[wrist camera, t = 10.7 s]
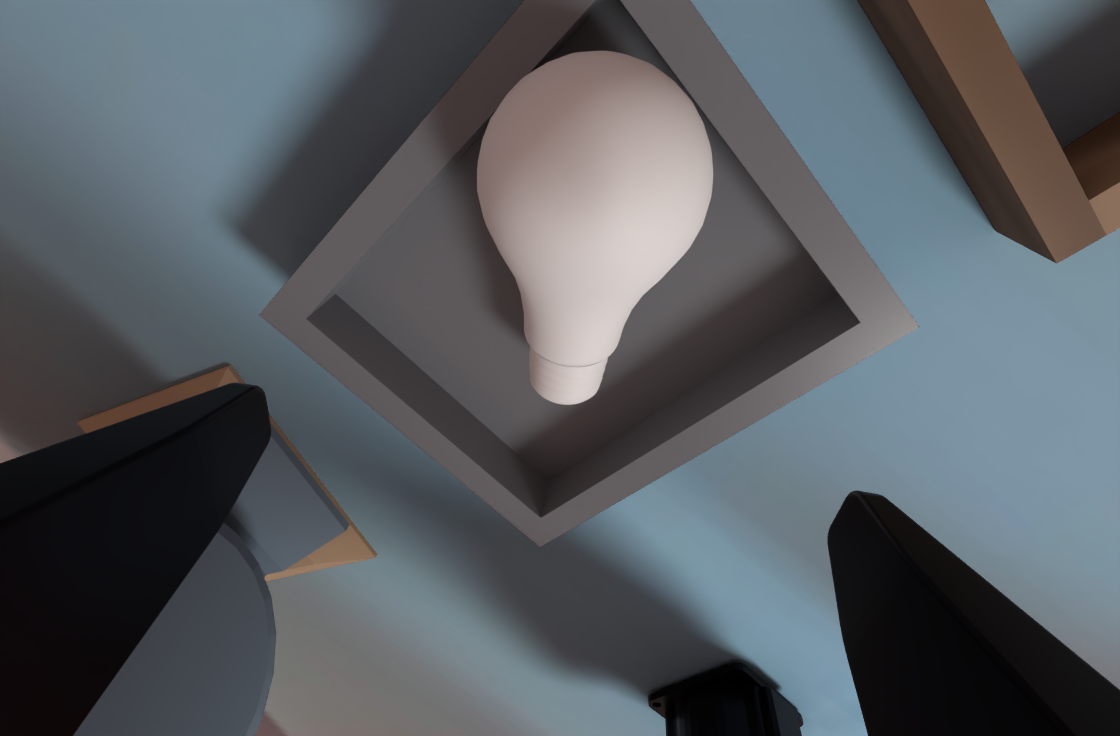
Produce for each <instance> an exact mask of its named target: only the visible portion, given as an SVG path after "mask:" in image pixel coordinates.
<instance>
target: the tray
mask: <svg viewBox="0 0 1120 736" xmlns="http://www.w3.org/2000/svg"><path fill="white" fill-rule="evenodd" d="M588 51H612V52H618V53H622V54H626V55H629V56H632V57H635V58H637V59H640V60H643V61H645V62H648V63H650V64H652V65H654V66H655V67H656V68H658V69H659V70H660V71H662V72H663V73H664V74H666V75H667V76H668V77H670V78H671V79H672V80H673V81H675V82H676V84H677V85H678V86H679V87H680V88H681V89H682V90H683V91H684V93H685V94H686V95H687V96H688V97H689V98H690V100H691V101H692V102H693V104H694V106H695V108H696V110H697V112H698V114H699V115H700V117H701V119H702V121H703V123H704V126H705V130H706V133H707V136H708V139H709V142H710V146H711V151H712V162H713V185H712V196H711V200H710V203H709V206H708V210H707V213H706V216H705V219H704V223H703V226H702V227H701V229H700V231H699V233H698V234H697V236H696V238H695V240H694V241H693V243H692V245H691V247H690V248H689V249H688V250H687V252H686V253H685V254H684V255H683V256H682V257H681V258H680V260H679V261H678V262H677V263H676V264H675V265H674V266H673V267H672V268H671V269H670V270H669V271H668V272H667V273H666V274H665V275H664V277H663V278H662V279H661V280H660V281H658V282H657V283H656V284H655V285H654V286H653V287H652V288H651V289H649V290H648V291H647V292H646V293H645V294H644V295H643V296H642V297H641V298H640V300H639V301H638V302H637V304H636V305H635V306H634V308H633V309H632V311H631V313H630V315H629V317H628V319H627V321H626V323H625V325H624V327H623V330H622V334H621V337H620V340H619V343H618V345H617V347H616V349H615V350H614V352H613V353H612V354H611V355H610V356H609V357H608V361H607V364H606V366H605V371H604V374H603V377H602V381H601V383H600V386H599V389H598V391H597V392H596V394H595V395H594V396H592V397H591V398H590V399H588V400H586V401H584V402H581V403H578V404H572V405H563V404H557V403H554V402H551V401H549V400H547V399H545V398H543V397H542V396H541V395H539V394H538V393H537V392H536V391H535V390H534V388H533V386H532V385H531V382H530V370H529V352H530V345H529V344H528V342H527V340H526V337H525V333H524V311H523V305H522V299H521V293H520V290H519V288H518V285H517V282H516V279H515V277H514V275H513V274H512V272H511V270H510V269H509V267H508V266H507V264H506V262H505V261H504V259H503V257H502V256H501V254H500V252H499V250H498V248H497V246H496V244H495V242H494V240H493V238H492V236H491V234H490V232H489V230H488V228H487V226H486V224H485V221H484V218H483V214H482V210H481V206H480V201H479V197H478V193H477V166H478V158H479V153H480V148H481V144H482V139H483V137H484V134H485V131H486V129H487V126H488V124H489V121H490V119H491V117H492V116H493V114H494V113H495V111H496V110H497V108H498V107H499V105H500V104H501V102H502V101H503V99H504V98H505V96H506V95H507V94H508V93H509V92H510V90H511V89H512V88H513V87H514V86H515V85H516V84H517V83H518V82H519V81H520V80H521V79H522V78H523V77H525V76H526V75H528V74H529V73H531V72H533V71H534V70H536V69H537V68H539V67H541V66H542V65H544V64H545V63H547V62H550V61H552V60H555V59H558V58H560V57H563V56H565V55H568V54H571V53H576V52H588ZM259 315H260V316H261V317H262V318H263V319H264V320H266V321H267V322H268V323H269V324H270V325H272V326H273V327H274V328H275V329H276V330H278V331H279V332H280V333H281V334H283V335H284V336H285V337H286V338H287V339H289V340H290V341H291V342H292V343H293V344H295V345H296V346H297V347H298V348H299V349H301V350H302V351H303V352H304V353H306V354H307V355H308V356H309V357H310V358H312V359H313V360H314V361H315V362H316V363H318V364H319V365H320V366H321V367H323V368H324V369H325V370H326V371H327V372H329V373H330V374H331V375H332V376H333V377H335V378H336V379H337V380H338V381H339V382H341V383H342V384H343V385H344V386H346V387H347V388H348V389H349V390H350V391H352V392H353V393H354V394H355V395H356V396H358V397H359V398H360V399H361V400H362V401H364V402H365V403H366V404H367V405H369V406H370V407H371V408H372V409H373V410H375V411H376V412H377V413H378V414H379V415H381V416H382V417H383V418H384V419H385V420H387V421H388V422H389V423H390V424H392V425H393V426H394V427H395V428H396V429H398V430H399V431H400V432H401V433H402V434H404V435H405V436H406V437H407V438H408V439H410V440H411V441H412V442H413V443H415V444H416V445H417V446H418V447H419V448H421V449H422V450H423V451H424V452H425V453H427V454H428V455H429V456H430V457H431V458H433V459H434V460H435V461H436V462H438V463H439V464H440V465H441V466H442V467H444V468H445V469H446V470H447V471H448V472H450V473H451V474H452V475H453V476H455V477H456V478H457V479H458V480H459V481H461V482H462V483H463V484H464V485H465V486H467V487H468V488H469V489H470V490H471V491H473V492H474V493H475V494H476V495H478V496H479V497H480V498H481V499H482V500H484V501H485V502H486V503H487V504H488V505H490V506H491V507H492V508H493V509H494V510H496V511H497V512H498V513H499V514H501V515H502V516H503V517H504V518H505V519H507V520H508V521H509V522H510V523H511V524H513V525H514V526H515V527H516V528H517V529H519V530H520V531H521V532H522V533H524V534H525V535H526V536H527V537H528V538H530V539H531V540H532V541H533V542H534V543H536V544H537V545H538V546H539V547H541V546H543V545H545V544H547V543H548V542H550V541H552V540H553V539H555V538H557V537H559V536H560V535H562V534H564V533H566V532H567V531H569V530H571V529H572V528H574V527H576V526H578V525H579V524H581V523H583V522H584V521H586V520H588V519H590V518H591V517H593V516H595V515H597V514H598V513H600V512H602V511H603V510H605V509H607V508H609V507H610V506H612V505H614V504H616V503H617V502H619V501H621V500H622V499H624V498H626V497H628V496H629V495H631V494H633V493H634V492H636V491H638V490H640V489H641V488H643V487H645V486H647V485H648V484H650V483H652V482H653V481H655V480H657V479H659V478H660V477H662V476H664V475H665V474H667V473H669V472H671V471H672V470H674V469H676V468H678V467H679V466H681V465H683V464H684V463H686V462H688V461H690V460H691V459H693V458H695V457H697V456H698V455H700V454H702V453H703V452H705V451H707V450H709V449H710V448H712V447H714V446H715V445H717V444H719V443H721V442H722V441H724V440H726V439H728V438H729V437H731V436H733V435H734V434H736V433H738V432H740V431H741V430H743V429H745V428H747V427H748V426H750V425H752V424H753V423H755V422H757V421H759V420H760V419H762V418H764V417H765V416H767V415H769V414H771V413H772V412H774V411H776V410H778V409H779V408H781V407H783V406H784V405H786V404H788V403H790V402H791V401H793V400H795V399H797V398H798V397H800V396H802V395H803V394H805V393H807V392H809V391H810V390H812V389H814V388H815V387H817V386H819V385H821V384H822V383H824V382H826V381H828V380H829V379H831V378H833V377H834V376H836V375H838V374H840V373H841V372H843V371H845V370H846V369H848V368H850V367H852V366H853V365H855V364H857V363H859V362H860V361H862V360H864V359H865V358H867V357H869V356H871V355H872V354H874V353H876V352H878V351H879V350H881V349H883V348H884V347H886V346H888V345H890V344H891V343H893V342H895V341H896V340H898V339H900V338H902V337H903V336H905V335H907V334H909V333H910V332H912V331H914V330H915V329H917V328H919V325H918V324H917V322H916V321H915V320H914V318H913V317H912V315H911V314H910V312H909V311H908V310H907V308H906V307H905V305H904V304H903V302H902V301H901V300H900V298H899V297H898V295H897V294H896V292H895V291H894V290H893V288H892V287H891V285H890V284H889V283H888V281H887V280H886V278H885V277H884V275H883V274H882V273H881V271H880V270H879V268H878V267H877V265H876V264H875V263H874V261H873V260H872V258H871V257H870V255H869V254H868V253H867V251H866V250H865V248H864V247H863V246H862V244H861V243H860V241H859V240H858V238H857V237H856V236H855V234H854V233H853V231H852V230H851V228H850V227H849V226H848V224H847V223H846V221H845V220H844V218H843V217H842V216H841V214H840V213H839V211H838V210H837V209H836V207H835V206H834V204H833V203H832V201H831V200H830V199H829V197H828V196H827V194H826V193H825V191H824V190H823V189H822V187H821V186H820V184H819V183H818V181H817V180H816V179H815V177H814V176H813V174H812V173H811V172H810V170H809V169H808V167H807V166H806V164H805V163H804V162H803V160H802V159H801V157H800V156H799V154H798V153H797V152H796V150H795V149H794V147H793V146H792V144H791V143H790V142H789V140H788V139H787V137H786V136H785V135H784V133H783V132H782V130H781V129H780V127H779V126H778V125H777V123H776V122H775V120H774V119H773V117H772V116H771V115H770V113H769V112H768V110H767V109H766V107H765V106H764V105H763V103H762V102H761V100H760V99H759V98H758V96H757V95H756V93H755V92H754V90H753V89H752V88H751V86H750V85H749V83H748V82H747V80H746V79H745V78H744V76H743V75H742V73H741V72H740V70H739V69H738V68H737V66H736V65H735V63H734V62H733V61H732V59H731V58H730V56H729V55H728V53H727V52H726V51H725V49H724V48H723V46H722V45H721V43H720V42H719V41H718V39H717V38H716V36H715V35H714V33H713V32H712V31H711V29H710V28H709V26H708V25H707V23H706V22H705V21H704V19H703V18H702V16H701V15H700V14H699V12H698V11H697V9H696V8H695V6H694V5H693V4H692V2H691V1H690V0H524V1H523V2H522V3H521V5H520V6H519V7H518V8H517V9H516V11H515V12H514V13H513V14H512V15H511V17H510V18H509V19H508V20H507V21H506V22H505V24H504V25H503V26H502V27H501V28H500V30H499V31H498V32H497V33H496V34H495V35H494V37H493V38H492V39H491V40H490V41H489V43H488V44H487V45H486V46H485V47H484V49H483V50H482V51H481V52H480V53H479V54H478V56H477V57H476V58H475V59H474V60H473V62H472V63H471V64H470V65H469V66H468V67H467V69H466V70H465V71H464V72H463V73H462V75H461V76H460V77H459V78H458V79H457V81H456V82H455V83H454V84H453V85H452V86H451V88H450V89H449V90H448V91H447V92H446V94H445V95H444V96H443V97H442V98H441V100H440V101H439V102H438V103H437V104H436V105H435V107H434V108H433V109H432V110H431V111H430V113H429V114H428V115H427V116H426V117H425V118H424V120H423V121H422V122H421V123H420V124H419V126H418V127H417V128H416V129H415V130H414V132H413V133H412V134H411V135H410V136H409V137H408V139H407V140H406V141H405V142H404V143H403V145H402V146H401V147H400V148H399V149H398V151H397V152H396V153H395V154H394V155H393V156H392V158H391V159H390V160H389V161H388V162H387V164H386V165H385V166H384V167H383V168H382V169H381V171H380V172H379V173H378V174H377V175H376V177H375V178H374V179H373V180H372V181H371V183H370V184H369V185H368V186H367V187H366V188H365V190H364V191H363V192H362V193H361V194H360V196H359V197H358V198H357V199H356V200H355V202H354V203H353V204H352V205H351V206H350V207H349V209H348V210H347V211H346V212H345V213H344V215H343V216H342V217H341V218H340V219H339V220H338V222H337V223H336V224H335V225H334V226H333V228H332V229H331V230H330V231H329V232H328V234H327V235H326V236H325V237H324V238H323V239H322V241H321V242H320V243H319V244H318V245H317V247H316V248H315V249H314V250H313V251H312V253H311V254H310V255H309V256H308V257H307V258H306V260H305V261H304V262H303V263H302V264H301V266H300V267H299V268H298V269H297V270H296V271H295V273H294V274H293V275H292V276H291V277H290V279H289V280H288V281H287V282H286V283H285V285H284V286H283V287H282V288H281V289H280V290H279V292H278V293H277V294H276V295H275V296H274V298H273V299H272V300H271V301H270V302H269V304H268V305H267V306H266V307H265V308H264V309H263V311H262V312H261V313H260V314H259Z"/></svg>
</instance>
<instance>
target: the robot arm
mask: <svg viewBox="0 0 1120 736" xmlns="http://www.w3.org/2000/svg"><path fill="white" fill-rule="evenodd" d="M270 438H271V423H270V418H269V412H268V407H267V401H266V396H265V393H264V391H263V389H262V388H260V387H258V386H255V385H249V384H243V383H236V382H235V383H229V384H226V385H224V386H221V387H218V388H215V389H212V390H209V391H206V392H204V393H201V394H198V395H195V396H192V397H189V398H186V399H183V400H181V401H178V402H175V403H172V404H169V405H166V406H163V407H161V408H158V409H155V410H152V411H149V412H146V413H143V414H140V415H138V416H135V417H132V418H129V419H126V420H123V421H120V422H117V423H115V424H112V425H109V426H106V427H103V428H100V429H97V430H95V431H92V432H89V433H86V434H83V435H80V436H77V437H74V438H72V439H69V440H66V441H63V442H60V443H57V444H54V445H52V446H49V447H46V448H43V449H40V450H37V451H34V452H31V453H29V454H26V455H23V456H20V457H17V458H14V459H11V460H9V461H6V462H3V463H0V736H73V735H74V734H75V733H76V731H77V730H78V728H79V727H80V726H81V724H82V723H83V721H84V720H85V719H86V717H87V716H88V714H89V713H90V712H91V710H92V709H93V707H94V706H95V704H96V703H97V702H98V700H99V699H100V697H101V696H102V695H103V693H104V692H105V690H106V689H107V688H108V686H109V685H110V683H111V682H112V681H113V679H114V678H115V676H116V675H117V674H118V672H119V671H120V669H121V668H122V666H123V665H124V664H125V662H126V661H127V659H128V658H129V657H130V655H131V654H132V652H133V651H134V650H135V648H136V647H137V645H138V644H139V643H140V641H141V640H142V638H143V637H144V636H145V634H146V633H147V631H148V630H149V628H150V627H151V626H152V624H153V623H154V621H155V620H156V619H157V617H158V616H159V614H160V613H161V612H162V610H163V609H164V607H165V606H166V605H167V603H168V602H169V600H170V599H171V598H172V596H173V595H174V593H175V592H176V591H177V589H178V588H179V586H180V585H181V583H182V582H183V581H184V579H185V578H186V576H187V575H188V574H189V572H190V571H191V569H192V568H193V567H194V565H195V564H196V562H197V561H198V560H199V558H200V557H201V555H202V554H203V553H204V551H205V550H206V548H207V547H208V545H209V544H210V543H211V541H212V540H213V538H214V537H215V535H216V534H217V532H218V531H219V529H220V528H221V526H222V525H223V523H224V521H225V520H226V518H227V517H228V515H229V513H230V511H231V510H232V508H233V506H234V504H235V503H236V501H237V499H238V497H239V495H240V494H241V492H242V490H243V488H244V487H245V485H246V483H247V481H248V479H249V478H250V476H251V474H252V472H253V471H254V469H255V467H256V465H257V463H258V462H259V460H260V458H261V456H262V455H263V453H264V451H265V449H266V447H267V446H268V444H269V441H270ZM828 550H829V556H830V563H831V569H832V576H833V582H834V588H835V595H836V601H837V608H838V614H839V621H840V627H841V632H842V637H843V642H844V646H845V651H846V655H847V659H848V662H849V666H850V670H851V674H852V677H853V681H854V685H855V688H856V692H857V696H858V700H859V703H860V707H861V711H862V714H863V718H864V722H865V726H866V729H867V733H868V736H1120V690H1119V689H1118V688H1117V687H1116V686H1114V685H1113V684H1112V683H1111V682H1110V681H1108V680H1107V679H1106V678H1105V677H1103V676H1102V675H1101V674H1100V673H1099V672H1097V671H1096V670H1095V669H1094V668H1092V667H1091V666H1090V665H1089V664H1088V663H1086V662H1085V661H1084V660H1083V659H1082V658H1080V657H1079V656H1078V655H1077V654H1075V653H1074V652H1073V651H1072V650H1071V649H1069V648H1068V647H1067V646H1066V645H1064V644H1063V643H1062V642H1061V641H1060V640H1058V639H1057V638H1056V637H1055V636H1053V635H1052V634H1051V633H1050V632H1049V631H1047V630H1046V629H1045V628H1044V627H1043V626H1041V625H1040V624H1039V623H1038V622H1036V621H1035V620H1034V619H1033V618H1032V617H1030V616H1029V615H1028V614H1027V613H1025V612H1024V611H1023V610H1022V609H1021V608H1019V607H1018V606H1017V605H1016V604H1014V603H1013V602H1012V601H1011V600H1010V599H1008V598H1007V597H1006V596H1005V595H1004V594H1002V593H1001V592H1000V591H999V590H997V589H996V588H995V587H994V586H993V585H991V584H990V583H989V582H988V581H986V580H985V579H984V578H983V577H982V576H980V575H979V574H978V573H977V572H975V571H974V570H973V569H972V568H971V567H969V566H968V565H967V564H966V563H965V562H963V561H962V560H961V559H960V558H958V557H957V556H956V555H955V554H954V553H952V552H951V551H950V550H949V549H947V548H946V547H945V546H944V545H943V544H941V543H940V542H939V541H938V540H936V539H935V538H934V537H933V536H932V535H930V534H929V533H928V532H927V531H926V530H924V529H923V528H922V527H921V526H919V525H918V524H917V523H916V522H915V521H913V520H912V519H911V518H910V517H908V516H907V515H906V514H905V513H904V512H902V511H901V510H900V509H899V508H898V507H896V506H895V505H894V504H893V503H891V502H890V501H889V500H888V499H887V498H885V497H884V496H882V495H879V494H875V493H869V492H863V491H853V492H851V493H849V494H848V496H847V497H846V499H845V500H844V502H843V504H842V506H841V508H840V510H839V511H838V513H837V515H836V517H835V519H834V521H833V522H832V524H831V526H830V529H829V532H828ZM648 704H649V706H650V707H651V708H652V709H653V710H654V711H656V712H657V713H658V714H660V715H661V716H662V717H664V718H665V721H666V736H802V735H801V731H800V727H801V726H802V725H803V719H802V715H801V714H800V713H799V712H798V711H797V710H796V709H795V708H794V707H792V706H791V705H790V704H789V703H788V702H787V701H786V700H784V699H783V698H782V697H781V696H780V695H779V694H778V693H776V692H775V691H774V690H773V689H772V688H770V687H769V686H768V685H767V684H766V683H765V682H763V681H762V680H761V679H760V678H759V677H758V676H757V675H755V674H754V673H753V672H752V671H751V670H750V669H749V668H747V667H746V666H745V665H744V664H742V663H731V664H729V665H726V666H723V667H721V668H718V669H715V670H713V671H710V672H707V673H705V674H702V675H699V676H697V677H694V678H692V679H689V680H686V681H684V682H681V683H678V684H676V685H673V686H670V687H668V688H665V689H662V690H660V691H657V692H655V693H652V694H650V695H649V696H648Z"/></svg>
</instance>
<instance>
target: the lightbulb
mask: <svg viewBox="0 0 1120 736" xmlns="http://www.w3.org/2000/svg"><path fill="white" fill-rule="evenodd" d="M712 185H713V162H712V151H711V146H710V142H709V139H708V136H707V133H706V130H705V126H704V123H703V121H702V119H701V117H700V115H699V114H698V112H697V110H696V108H695V106H694V104H693V102H692V101H691V100H690V98H689V97H688V96H687V95H686V94H685V93H684V91H683V90H682V89H681V88H680V87H679V86H678V85H677V84H676V82H675V81H673V80H672V79H671V78H670V77H668V76H667V75H666V74H664V73H663V72H662V71H660V70H659V69H658V68H656V67H655V66H654V65H652V64H650V63H648V62H645V61H643V60H640V59H637V58H635V57H632V56H629V55H626V54H622V53H618V52H612V51H588V52H576V53H571V54H568V55H565V56H563V57H560V58H558V59H555V60H552V61H550V62H547V63H545V64H544V65H542V66H541V67H539V68H537V69H536V70H534V71H533V72H531V73H529V74H528V75H526V76H525V77H523V78H522V79H521V80H520V81H519V82H518V83H517V84H516V85H515V86H514V87H513V88H512V89H511V90H510V92H509V93H508V94H507V95H506V96H505V98H504V99H503V101H502V102H501V104H500V105H499V107H498V108H497V110H496V111H495V113H494V114H493V116H492V117H491V119H490V121H489V124H488V126H487V129H486V131H485V134H484V137H483V139H482V144H481V148H480V153H479V158H478V166H477V193H478V197H479V201H480V206H481V210H482V214H483V218H484V221H485V224H486V226H487V228H488V230H489V232H490V234H491V236H492V238H493V240H494V242H495V244H496V246H497V248H498V250H499V252H500V254H501V256H502V257H503V259H504V261H505V262H506V264H507V266H508V267H509V269H510V270H511V272H512V274H513V275H514V277H515V279H516V282H517V285H518V288H519V290H520V293H521V299H522V305H523V311H524V333H525V337H526V340H527V342H528V344H529V345H530V352H529V370H530V382H531V385H532V386H533V388H534V390H535V391H536V392H537V393H538V394H539V395H541V396H542V397H543V398H545V399H547V400H549V401H551V402H554V403H557V404H563V405H572V404H578V403H581V402H584V401H586V400H588V399H590V398H591V397H592V396H594V395H595V394H596V392H597V391H598V389H599V386H600V383H601V381H602V377H603V374H604V371H605V366H606V364H607V361H608V357H609V356H610V355H611V354H612V353H613V352H614V350H615V349H616V347H617V345H618V343H619V340H620V337H621V334H622V330H623V327H624V325H625V323H626V321H627V319H628V317H629V315H630V313H631V311H632V309H633V308H634V306H635V305H636V304H637V302H638V301H639V300H640V298H641V297H642V296H643V295H644V294H645V293H646V292H647V291H648V290H649V289H651V288H652V287H653V286H654V285H655V284H656V283H657V282H658V281H660V280H661V279H662V278H663V277H664V275H665V274H666V273H667V272H668V271H669V270H670V269H671V268H672V267H673V266H674V265H675V264H676V263H677V262H678V261H679V260H680V258H681V257H682V256H683V255H684V254H685V253H686V252H687V250H688V249H689V248H690V247H691V245H692V243H693V241H694V240H695V238H696V236H697V234H698V233H699V231H700V229H701V227H702V226H703V223H704V219H705V216H706V213H707V210H708V206H709V203H710V200H711V196H712Z"/></svg>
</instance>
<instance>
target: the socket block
mask: <svg viewBox="0 0 1120 736" xmlns="http://www.w3.org/2000/svg"><path fill="white" fill-rule="evenodd" d="M858 1H859V3H860V5H861V6H862V8H863V10H864V11H865V13H866V15H867V16H868V18H869V20H870V21H871V23H872V25H873V26H874V28H875V30H876V31H877V33H878V35H879V36H880V38H881V40H882V42H883V43H884V45H885V47H886V48H887V50H888V52H889V53H890V55H891V57H892V58H893V60H894V62H895V63H896V65H897V67H898V68H899V70H900V72H901V73H902V75H903V77H904V78H905V80H906V82H907V83H908V85H909V87H910V88H911V90H912V92H913V93H914V95H915V97H916V98H917V100H918V102H919V103H920V105H921V107H922V108H923V110H924V112H925V113H926V115H927V117H928V118H929V120H930V122H931V123H932V125H933V127H934V129H935V130H936V132H937V134H938V135H939V137H940V139H941V140H942V142H943V144H944V145H945V147H946V149H947V150H948V152H949V154H950V155H951V157H952V159H953V160H954V162H955V164H956V165H957V167H958V169H959V170H960V172H961V174H962V175H963V177H964V179H965V180H966V182H967V184H968V185H969V187H970V189H971V190H972V192H973V194H974V195H975V197H976V199H977V200H978V202H979V204H980V205H981V207H982V209H983V211H984V212H985V214H986V216H987V217H988V219H989V221H990V222H991V224H992V226H993V227H994V229H995V231H996V232H998V233H1000V234H1002V235H1004V236H1006V237H1008V238H1010V239H1011V240H1013V241H1015V242H1017V243H1019V244H1021V245H1023V246H1025V247H1027V248H1028V249H1030V250H1032V251H1034V252H1036V253H1038V254H1040V255H1042V256H1044V257H1045V258H1047V259H1049V260H1051V261H1053V262H1055V263H1058V262H1060V261H1062V260H1064V259H1065V258H1067V257H1069V256H1071V255H1073V254H1074V253H1076V252H1078V251H1080V250H1081V249H1083V248H1085V247H1087V246H1088V245H1090V244H1092V243H1094V242H1095V241H1097V240H1099V239H1101V238H1102V237H1104V236H1106V235H1108V234H1109V233H1111V232H1113V231H1115V230H1116V229H1118V228H1120V112H1119V113H1118V114H1116V115H1114V116H1113V117H1111V118H1110V119H1108V120H1107V121H1105V122H1104V123H1102V124H1101V125H1099V126H1097V127H1096V128H1094V129H1093V130H1091V131H1090V132H1088V133H1087V134H1085V135H1083V136H1082V137H1080V138H1079V139H1077V140H1076V141H1074V142H1073V143H1071V144H1070V145H1068V146H1066V147H1065V148H1063V149H1062V148H1061V146H1060V144H1059V142H1058V140H1057V139H1056V137H1055V135H1054V133H1053V131H1052V129H1051V127H1050V125H1049V123H1048V121H1047V119H1046V117H1045V115H1044V113H1043V112H1042V110H1041V108H1040V106H1039V104H1038V102H1037V100H1036V98H1035V96H1034V94H1033V92H1032V90H1031V88H1030V86H1029V84H1028V83H1027V81H1026V79H1025V77H1024V75H1023V73H1022V71H1021V69H1020V67H1019V65H1018V63H1017V61H1016V59H1015V57H1014V56H1013V54H1012V52H1011V50H1010V48H1009V46H1008V44H1007V42H1006V40H1005V38H1004V36H1003V34H1002V32H1001V30H1000V29H999V27H998V25H997V23H996V21H995V19H994V17H993V15H992V13H991V11H990V9H989V7H988V5H987V3H986V2H985V0H858Z"/></svg>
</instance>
